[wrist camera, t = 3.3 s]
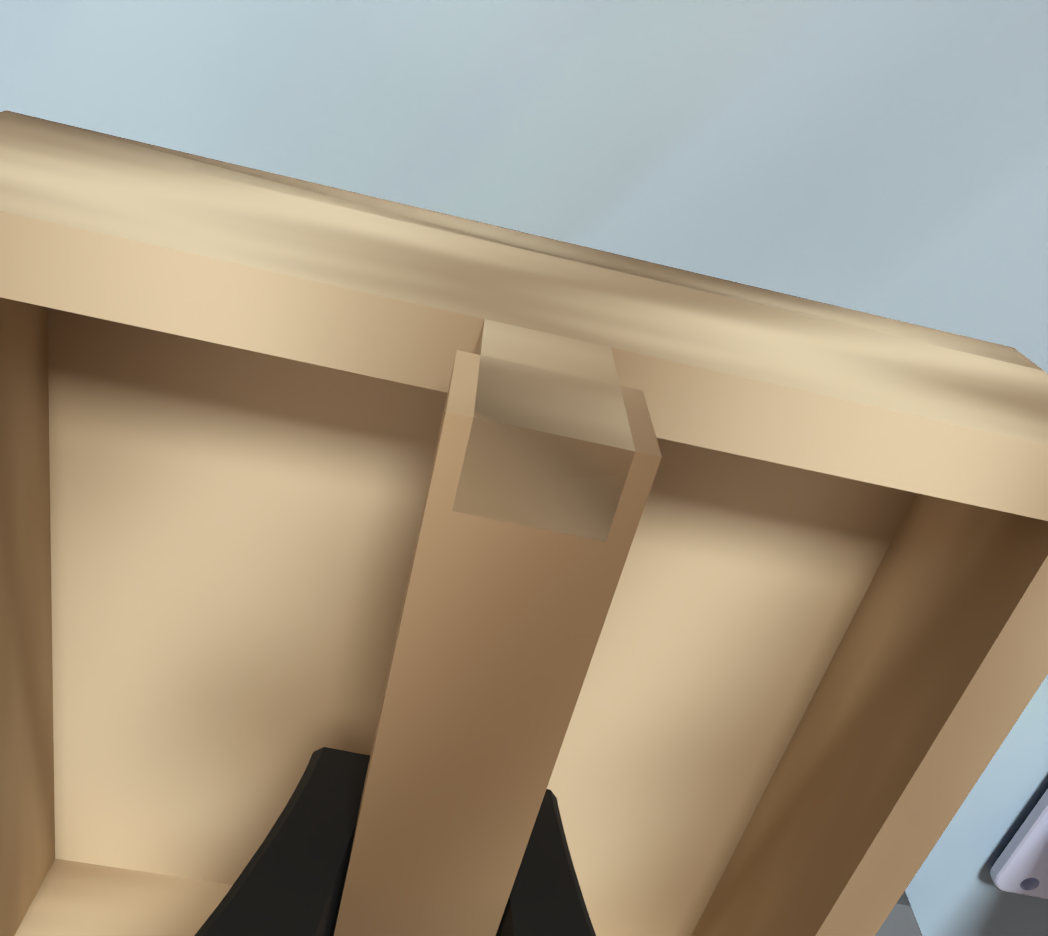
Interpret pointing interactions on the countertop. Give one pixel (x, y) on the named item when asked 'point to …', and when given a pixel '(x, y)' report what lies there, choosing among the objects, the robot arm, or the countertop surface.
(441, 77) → the countertop surface
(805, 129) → the countertop surface
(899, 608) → the pine crate
